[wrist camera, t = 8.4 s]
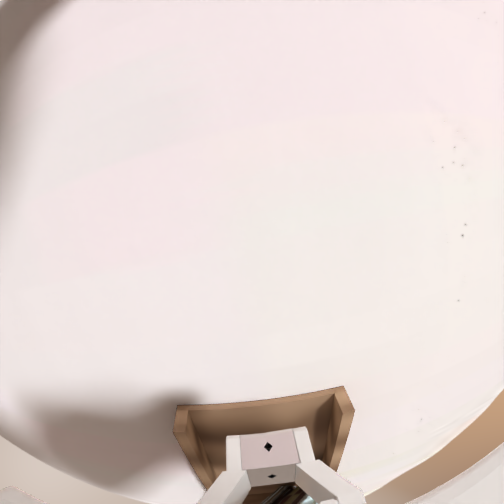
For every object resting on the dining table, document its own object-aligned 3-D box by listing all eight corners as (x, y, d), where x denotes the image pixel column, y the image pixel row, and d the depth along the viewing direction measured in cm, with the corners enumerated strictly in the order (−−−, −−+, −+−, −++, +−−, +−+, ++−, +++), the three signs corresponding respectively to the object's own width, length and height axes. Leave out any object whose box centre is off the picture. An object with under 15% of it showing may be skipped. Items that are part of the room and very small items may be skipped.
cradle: (177, 405, 20) (172, 431, 17) (343, 385, 20) (355, 410, 18) (221, 494, 27) (222, 511, 24) (321, 482, 27) (326, 498, 24)
